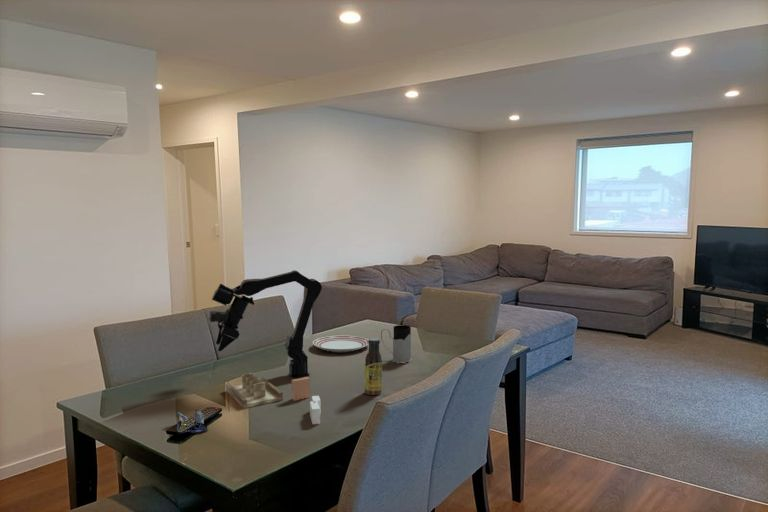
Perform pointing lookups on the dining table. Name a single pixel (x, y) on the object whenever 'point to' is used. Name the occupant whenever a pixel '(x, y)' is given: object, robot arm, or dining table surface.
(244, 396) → the dish rack
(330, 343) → the dinner plate
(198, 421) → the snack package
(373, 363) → the sauce bottle
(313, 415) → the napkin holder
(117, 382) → the dining table surface
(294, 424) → the dining table surface
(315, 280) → the robot arm
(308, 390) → the pink clay brick
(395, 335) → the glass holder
